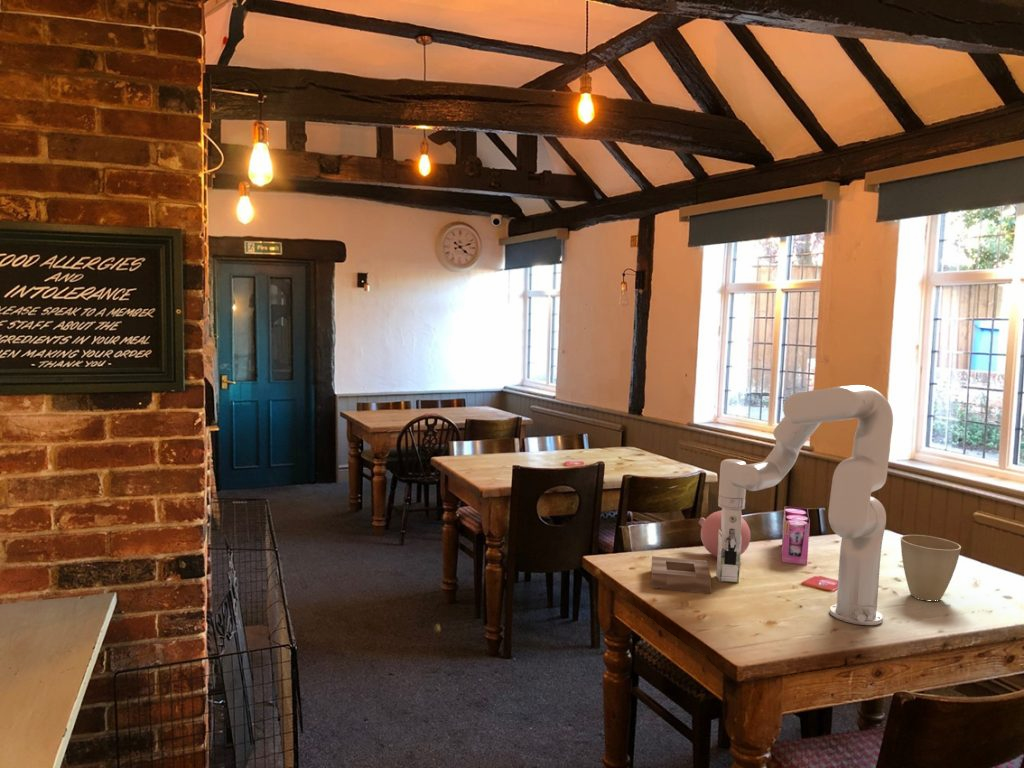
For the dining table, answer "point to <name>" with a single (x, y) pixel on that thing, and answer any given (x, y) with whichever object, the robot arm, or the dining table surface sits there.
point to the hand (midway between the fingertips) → (728, 559)
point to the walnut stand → (681, 574)
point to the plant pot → (928, 565)
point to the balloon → (712, 531)
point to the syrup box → (724, 570)
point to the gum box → (795, 535)
